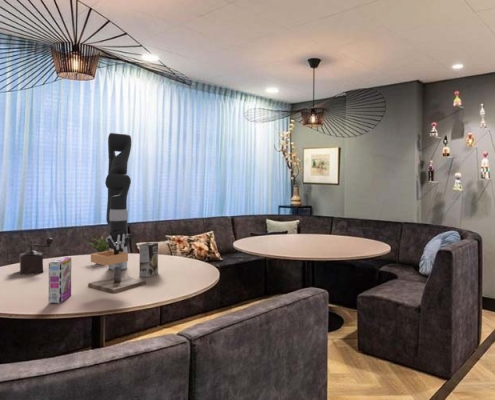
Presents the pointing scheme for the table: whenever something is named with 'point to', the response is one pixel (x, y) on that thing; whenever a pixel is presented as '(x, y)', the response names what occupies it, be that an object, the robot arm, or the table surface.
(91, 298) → the table surface
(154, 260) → the coffee box
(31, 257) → the manual coffee grinder
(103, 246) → the house plant
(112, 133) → the robot arm
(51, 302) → the candy bar box
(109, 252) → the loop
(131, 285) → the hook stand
